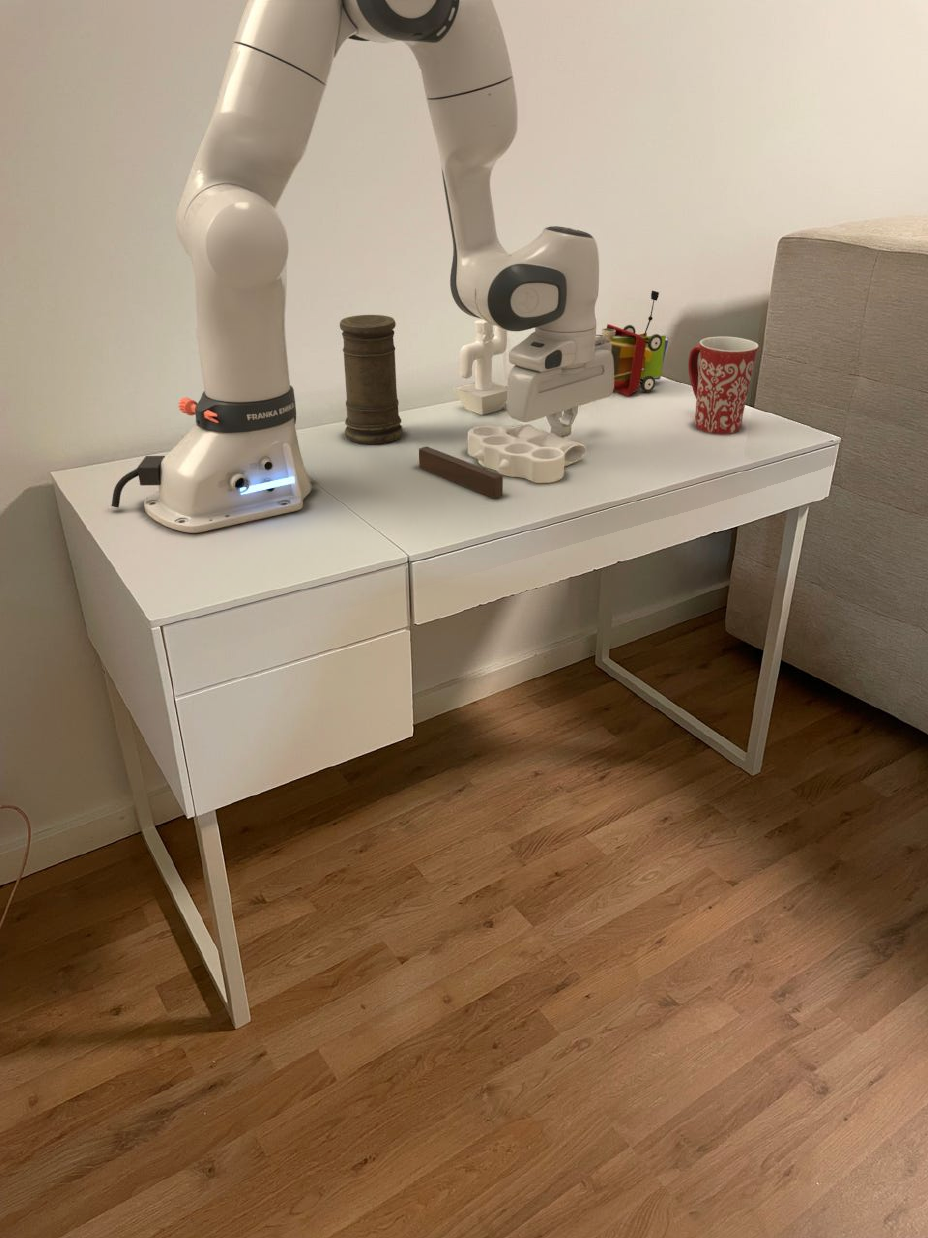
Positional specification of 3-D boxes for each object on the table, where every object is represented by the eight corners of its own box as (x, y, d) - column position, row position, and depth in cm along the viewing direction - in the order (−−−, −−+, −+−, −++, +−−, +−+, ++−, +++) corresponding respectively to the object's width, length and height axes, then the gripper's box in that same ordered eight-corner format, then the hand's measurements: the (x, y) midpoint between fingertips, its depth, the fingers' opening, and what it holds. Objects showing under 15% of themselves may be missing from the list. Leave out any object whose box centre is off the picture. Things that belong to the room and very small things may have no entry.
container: (412, 437, 154) (409, 321, 145) (362, 448, 149) (355, 329, 140) (384, 422, 160) (378, 310, 151) (335, 433, 156) (327, 318, 147)
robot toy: (675, 393, 177) (584, 399, 168) (644, 381, 184) (555, 385, 175) (693, 296, 169) (598, 296, 160) (660, 286, 176) (567, 286, 167)
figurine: (448, 410, 166) (447, 320, 158) (489, 399, 171) (490, 311, 164) (476, 420, 161) (477, 328, 154) (517, 408, 166) (520, 318, 159)
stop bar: (494, 499, 132) (495, 478, 130) (419, 467, 142) (418, 448, 140) (502, 496, 132) (503, 475, 131) (427, 465, 143) (426, 445, 141)
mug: (758, 431, 156) (771, 346, 149) (712, 439, 152) (723, 352, 146) (709, 409, 165) (719, 328, 159) (665, 416, 162) (673, 334, 155)
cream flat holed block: (600, 466, 142) (526, 491, 134) (518, 435, 154) (446, 456, 146) (602, 444, 140) (527, 468, 132) (519, 415, 152) (445, 434, 144)
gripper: (595, 329, 150) (590, 417, 157) (500, 353, 138) (499, 446, 145) (627, 337, 146) (620, 426, 153) (532, 362, 134) (529, 457, 141)
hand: (560, 436), depth 149 cm, fingers closed
